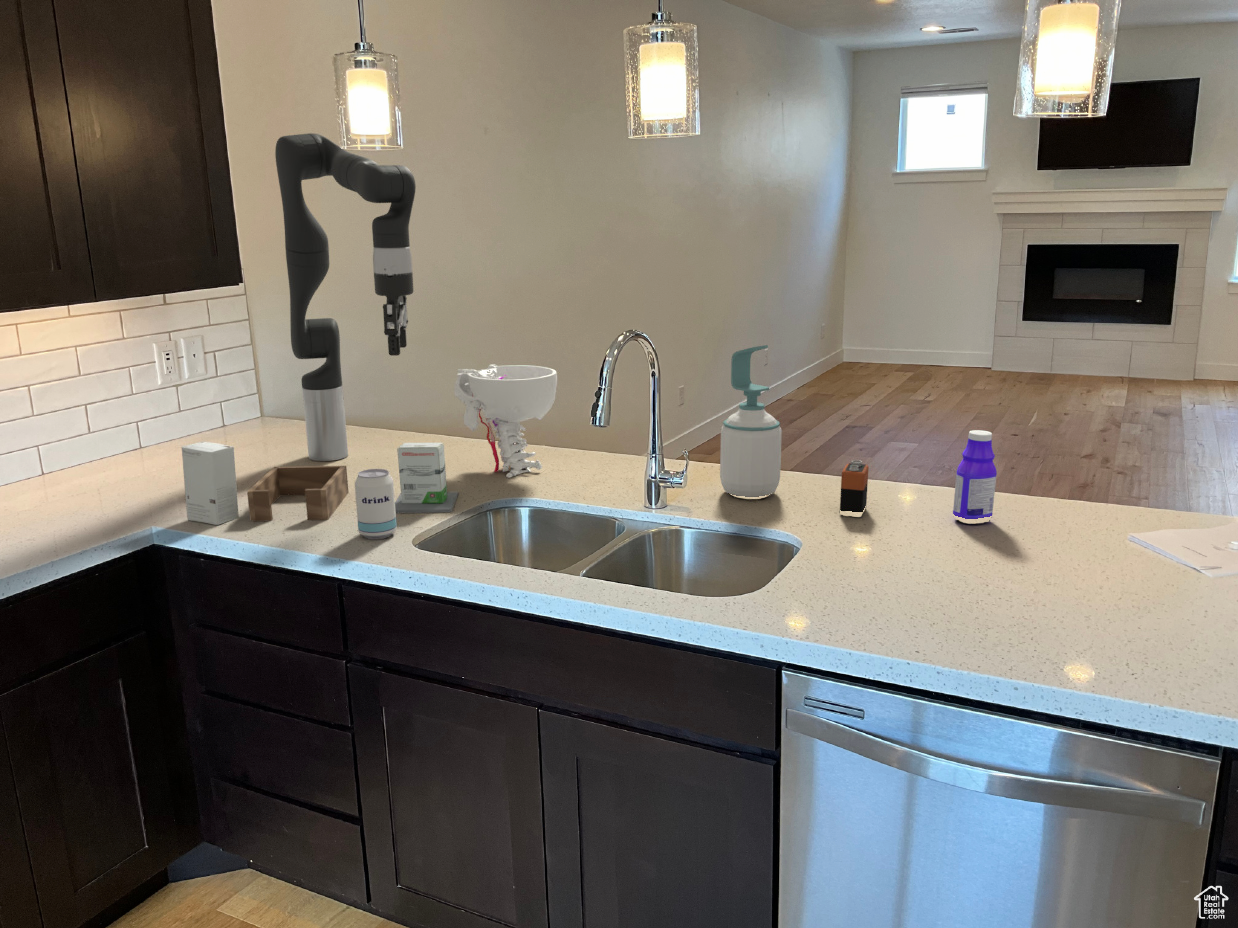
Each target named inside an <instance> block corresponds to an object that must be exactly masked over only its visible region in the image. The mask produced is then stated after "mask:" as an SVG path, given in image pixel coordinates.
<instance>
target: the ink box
mask: <svg viewBox="0 0 1238 928" xmlns="http://www.w3.org/2000/svg"><path fill="white" fill-rule="evenodd" d="M444 443H445V442H444ZM444 443H443V442H403V443H402V444H400V445H399V446H398V447H397V448H396V449H397V461H398V462H397V463H398V473H399V475H398V477H399V485H400V486H399V488H400V493H401V501H402V503H403V504H421V503H444V501H445V500H446V498H447V492H448V487H447V486H448V485H447V469H446V458H445V444H444Z"/></svg>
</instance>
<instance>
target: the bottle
mask: <svg viewBox="0 0 1238 928" xmlns="http://www.w3.org/2000/svg"><path fill="white" fill-rule="evenodd" d="M967 438H968V439H967V444H966V447H965V449H964V450H963V452H962V453H961V455H962V459H961V461H960V463H959V464H958V466H957V469H956V475H955V487H954V498H953V510H952V514H954V515H955V516H958V517H962V518H965V519H978V518H984V517H990V516H992V517H993V511H994V503H995V502H994V501H995V494H996V493H995V492H996V491H995V490H996V482H997V467H996V466H995V463H994V461H993V460H994V459H995V457H996V456H995V454H994V450H993V445H992V442H993V441H992V440H993V433H992V432H991V431H987V430H981V429H979V430H978V429H975V430H974V429H973V430H970V431H969V432H968V436H967Z"/></svg>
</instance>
